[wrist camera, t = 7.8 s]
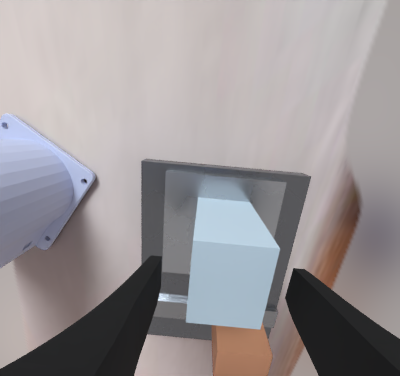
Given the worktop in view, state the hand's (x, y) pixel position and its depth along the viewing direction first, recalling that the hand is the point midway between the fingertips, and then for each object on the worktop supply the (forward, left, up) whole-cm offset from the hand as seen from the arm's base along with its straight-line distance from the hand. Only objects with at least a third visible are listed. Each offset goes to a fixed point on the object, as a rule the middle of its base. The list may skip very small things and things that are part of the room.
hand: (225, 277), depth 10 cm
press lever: (-6, -7, -5) cm, 11 cm away
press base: (-3, -2, -7) cm, 8 cm away
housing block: (0, 0, -5) cm, 5 cm away
